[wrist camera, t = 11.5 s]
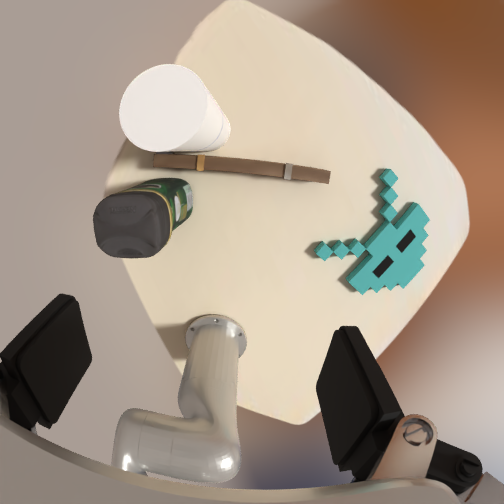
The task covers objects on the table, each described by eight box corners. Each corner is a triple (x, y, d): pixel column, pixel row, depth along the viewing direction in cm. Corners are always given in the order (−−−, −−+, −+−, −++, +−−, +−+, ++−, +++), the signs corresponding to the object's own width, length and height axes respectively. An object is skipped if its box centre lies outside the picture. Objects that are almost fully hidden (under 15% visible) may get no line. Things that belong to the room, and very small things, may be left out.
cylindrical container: (207, 160, 43) (159, 171, 20) (177, 131, 41) (103, 113, 18) (239, 130, 41) (228, 103, 18) (209, 100, 39) (166, 48, 16)
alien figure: (313, 249, 49) (376, 306, 54) (316, 253, 47) (380, 311, 52) (385, 168, 44) (438, 237, 48) (390, 169, 42) (444, 241, 46)
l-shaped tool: (322, 182, 44) (329, 185, 40) (160, 166, 43) (152, 168, 39) (329, 123, 41) (337, 121, 37) (166, 107, 40) (158, 103, 36)
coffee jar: (143, 223, 46) (92, 264, 29) (139, 179, 44) (82, 198, 26) (195, 222, 47) (165, 265, 29) (194, 176, 44) (159, 192, 26)
